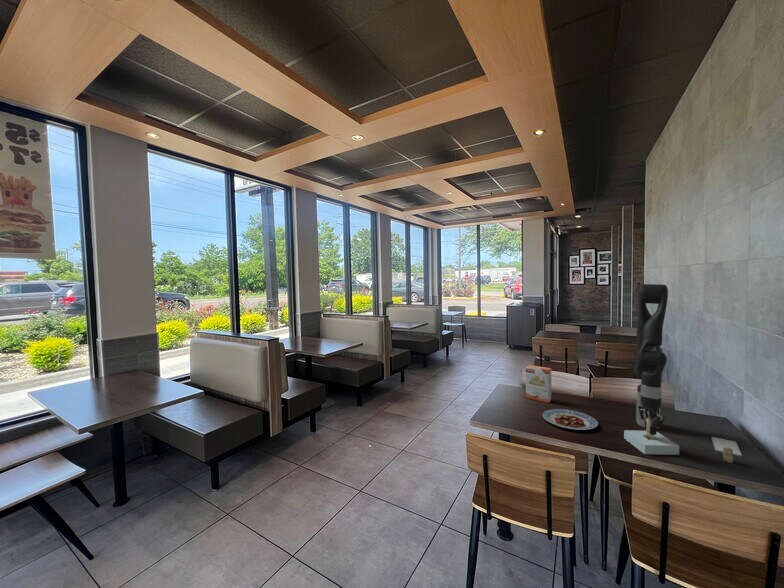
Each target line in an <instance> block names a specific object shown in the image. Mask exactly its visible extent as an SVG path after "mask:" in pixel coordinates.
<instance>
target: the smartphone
mask: <svg viewBox="0 0 784 588" xmlns="http://www.w3.org/2000/svg"><path fill="white" fill-rule="evenodd" d="M711 442H712V444H713V447H714V451H716V452H719V453H723V448H724V447H726V448H730V449H732V450H733V456H738V457H743V454H742V451H741V449H740V447H739V444H738V442H737V441H734V440H729V439H725V438H721V437H717V436H716V437H715V436H712V437H711Z"/></svg>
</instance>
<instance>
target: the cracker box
mask: <svg viewBox="0 0 784 588" xmlns="http://www.w3.org/2000/svg"><path fill="white" fill-rule="evenodd" d="M525 398H526V399H530V400H534V401H538V402H539V401H540V402H543V403H548V404H549V403H550V402H551V401H552V368H551V367H545V366H538V365H532V364H528V365H526V366H525Z"/></svg>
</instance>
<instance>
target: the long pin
mask: <svg viewBox="0 0 784 588" xmlns="http://www.w3.org/2000/svg"><path fill="white" fill-rule="evenodd" d="M653 424H654V421H653ZM646 438H647V439H648V440H654V435H651V434H650V421H649V419H648V418H647V422H646Z"/></svg>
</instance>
